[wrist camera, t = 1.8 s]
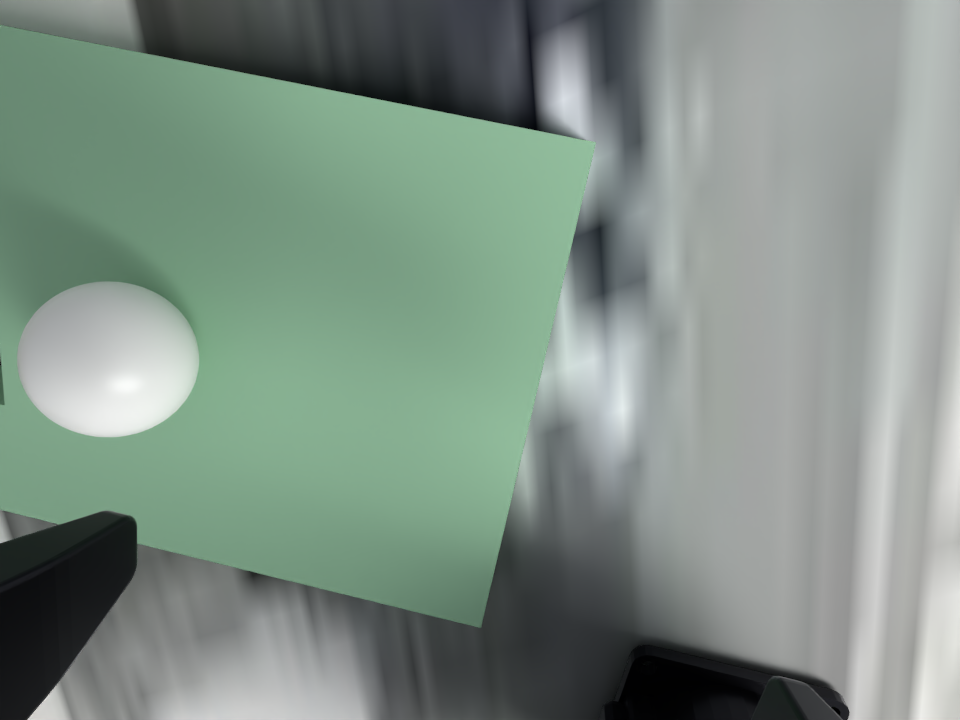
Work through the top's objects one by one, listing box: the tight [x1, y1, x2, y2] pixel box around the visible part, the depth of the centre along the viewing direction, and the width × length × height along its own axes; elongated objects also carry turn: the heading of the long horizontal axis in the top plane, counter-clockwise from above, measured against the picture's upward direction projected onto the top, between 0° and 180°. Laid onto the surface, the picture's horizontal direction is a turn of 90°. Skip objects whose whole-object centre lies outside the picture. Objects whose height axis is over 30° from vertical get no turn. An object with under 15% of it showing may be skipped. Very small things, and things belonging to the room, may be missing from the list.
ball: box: [17, 281, 199, 437], centre depth 14 cm, size 4×4×4 cm
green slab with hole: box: [0, 25, 596, 628], centre depth 15 cm, size 22×13×4 cm, turn 80°
